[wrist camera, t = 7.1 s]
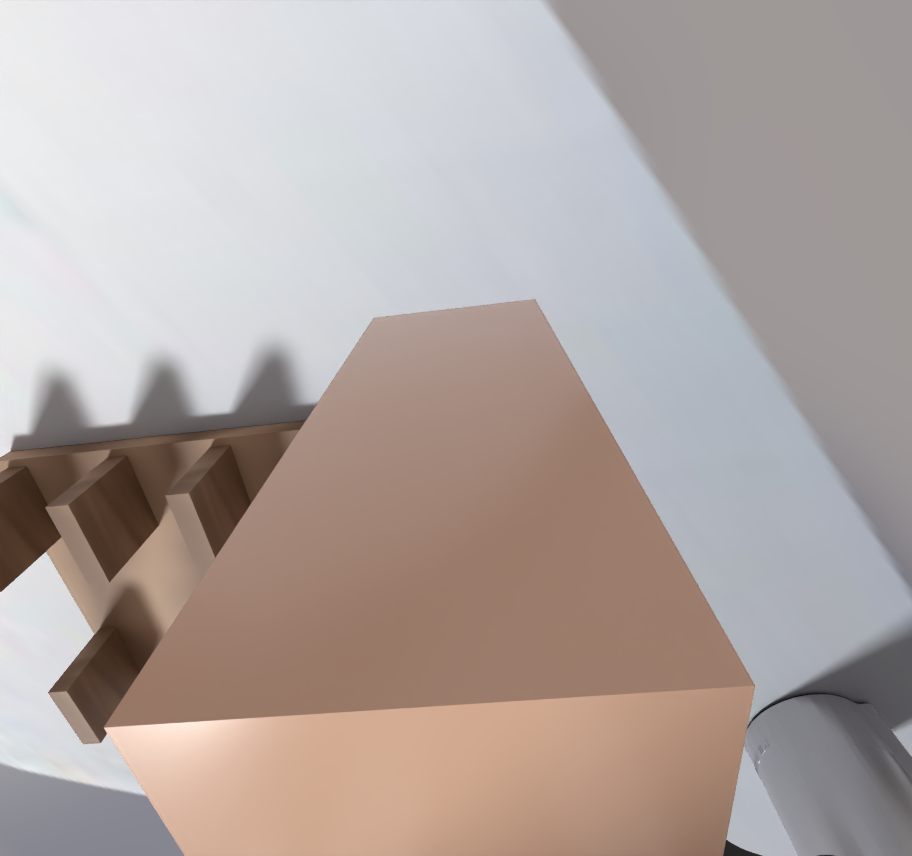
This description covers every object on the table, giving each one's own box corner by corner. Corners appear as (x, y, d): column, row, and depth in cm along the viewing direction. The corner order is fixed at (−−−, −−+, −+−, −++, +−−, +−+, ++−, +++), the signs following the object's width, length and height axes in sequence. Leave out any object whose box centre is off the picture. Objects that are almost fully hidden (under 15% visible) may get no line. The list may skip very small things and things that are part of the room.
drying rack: (349, 416, 30) (323, 471, 24) (403, 648, 38) (392, 728, 33) (9, 451, 31) (-89, 511, 26) (132, 668, 40) (77, 749, 34)
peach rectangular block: (534, 299, 9) (756, 685, 2) (560, 769, 15) (642, 1284, 8) (373, 317, 10) (105, 726, 2) (460, 774, 16) (456, 1281, 8)
